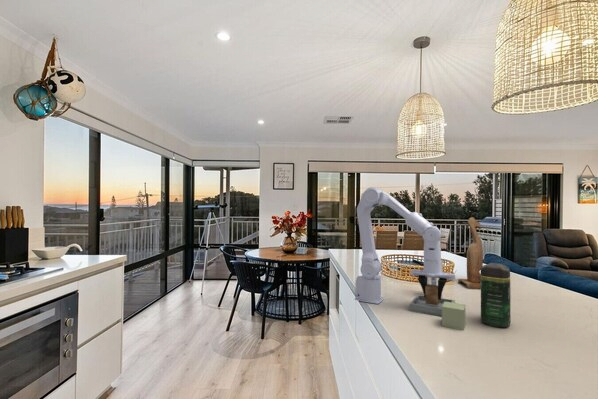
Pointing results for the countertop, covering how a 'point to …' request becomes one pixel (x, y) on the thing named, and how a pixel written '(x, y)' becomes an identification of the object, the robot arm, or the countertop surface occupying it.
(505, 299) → the coffee jar
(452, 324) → the olive block
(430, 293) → the walnut block
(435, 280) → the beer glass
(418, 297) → the grey tray
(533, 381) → the countertop surface
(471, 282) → the bird sculpture
